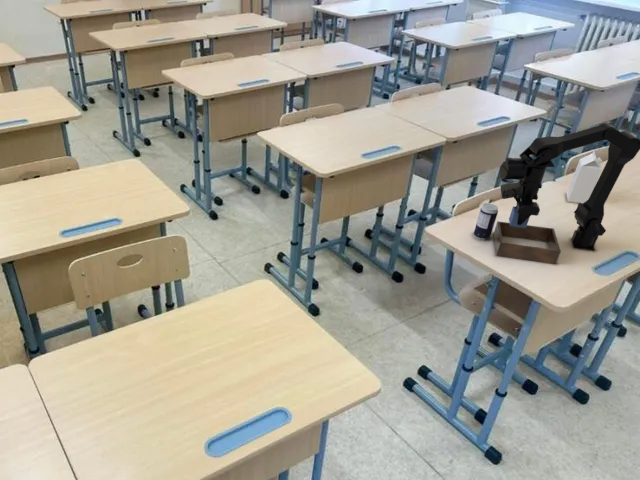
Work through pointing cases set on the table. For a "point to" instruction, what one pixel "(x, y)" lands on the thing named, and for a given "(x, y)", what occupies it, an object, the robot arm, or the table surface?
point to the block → (516, 219)
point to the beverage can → (486, 221)
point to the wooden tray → (526, 251)
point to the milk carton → (584, 179)
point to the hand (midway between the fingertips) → (518, 220)
